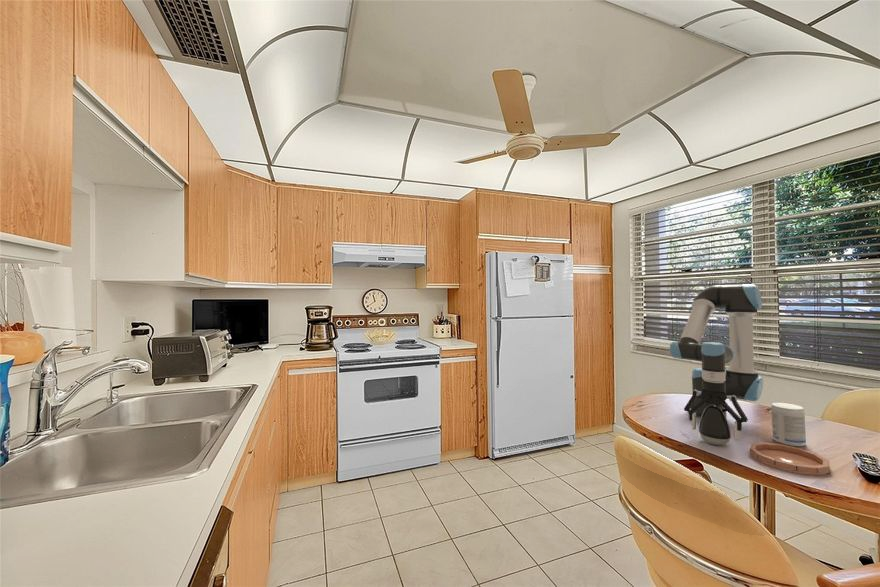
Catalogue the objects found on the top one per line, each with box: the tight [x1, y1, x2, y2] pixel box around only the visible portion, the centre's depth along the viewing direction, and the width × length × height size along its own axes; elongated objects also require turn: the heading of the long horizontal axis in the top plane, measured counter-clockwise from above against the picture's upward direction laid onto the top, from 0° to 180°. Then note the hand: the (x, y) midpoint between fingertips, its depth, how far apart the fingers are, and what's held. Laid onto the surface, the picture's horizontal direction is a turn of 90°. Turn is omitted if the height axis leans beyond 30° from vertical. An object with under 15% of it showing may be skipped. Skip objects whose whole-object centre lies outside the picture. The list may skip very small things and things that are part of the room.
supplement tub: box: [770, 402, 807, 447], centre depth 142 cm, size 10×10×15 cm
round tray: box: [749, 442, 831, 476], centre depth 126 cm, size 20×20×2 cm
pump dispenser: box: [698, 405, 732, 447], centre depth 142 cm, size 10×10×15 cm
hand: (714, 433), depth 142 cm, fingers open, 13 cm apart
